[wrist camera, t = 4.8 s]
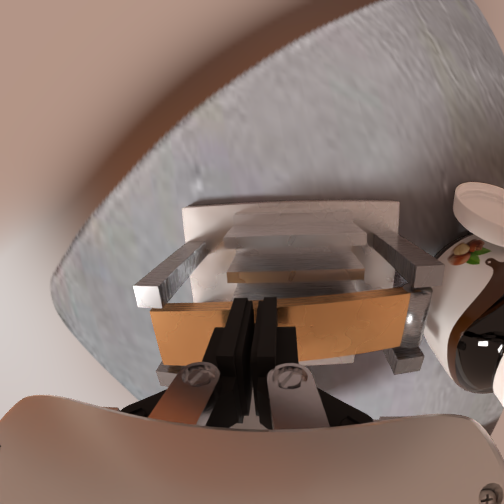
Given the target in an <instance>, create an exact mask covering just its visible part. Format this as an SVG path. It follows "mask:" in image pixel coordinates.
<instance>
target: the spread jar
mask: <svg viewBox="0 0 504 504" xmlns="http://www.w3.org/2000/svg"><path fill="white" fill-rule="evenodd" d="M453 212H454V215H455V217H456V218H457V220H458V221H459V222H460V223H461V224H462V225H463V226H464V227H465V228H466V229H467V230H469V231H470V232H471V233H473V234H470V235H467V236H464V237H461V238H459V239H457V240H455V241H453V242H451V243H450V244H448V245H447V246H446V247H444V248H443V249H442V250H441V251H440V252H439V253H438V254H437V255H436V256H435V258H436V259H437V260H439V261H440V262H442V263H443V264H445V270H444V276H443V282H442V286H432V287H431V288H432V289H433V292H432V298H431V303H430V307H429V312H428V316H427V321H426V325H425V329H424V333H423V334H424V336H425V338H426V340H427V342H428V344H429V346H430V348H431V349H432V351H433V352H434V354H435V356H436V357H437V359H438V360H439V362H440V363H441V365H442V366H443V368H444V369H445V371H446V372H447V373H448V375H449V376H450V377H451V379H452V380H453V381H454V382H455V383H456V384H457V385H458V386H460V387H461V388H463V389H464V390H466V391H469V392H472V393H482V394H486V393H493V392H494V393H495V395H496V396H497V398H498V399H499V401H500V402H501V404H502V405H503V407H504V189H503V188H500V187H498V186H495V185H491V184H487V183H481V182H467V183H463V184H460V185H459V186H457V188H456V190H455V196H454V203H453Z"/></svg>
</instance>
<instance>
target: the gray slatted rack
mask: <svg viewBox="0 0 504 504" xmlns="http://www.w3.org/2000/svg"><path fill="white" fill-rule="evenodd" d="M182 215H183V224H184V233H185V242H186V244H184V245H183V246H182V247H180V248H179V249H178V250H177V251H175V252H174V253H173V254H172V255H170V256H169V257H168V258H167V259H165V260H164V261H163V262H162V263H160V264H159V265H158V266H157V267H156V268H154V269H153V270H152V271H151V272H149V273H148V274H147V275H146V276H145V277H143V278H142V279H141V280H140V281H139V282H137V283H136V284H135V285H134V286H133V287H134V292H135V296H136V301H137V305H138V307H143V308H163V307H164V306H165V305H166V303H167V302H168V301H169V300H170V299H171V298H172V296H173V295H174V294H175V293H176V292H177V290H178V289H179V288H180V287H181V286H182V284H183V283H184V282H185V281H186V280H187V279H188V277H189V276H190V280H191V287H192V294H193V300H194V303H204V302H229V301H233V300H234V298H248V301H250V300H263V299H264V297H277V299H282V298H296V297H309V296H321V295H332V294H343V293H353V292H362V291H371V290H380V289H389V288H393V284H394V275H395V270H396V271H397V272H398V273H399V274H400V275H401V276H402V277H403V278H404V279H405V280H406V281H407V282H408V283H409V284H410V285H411V286H412V287H413V288H421V287H432V286H442V282H443V276H444V270H445V264H443V263H442V262H440V261H439V260H437V259H436V258H434V257H433V256H431V255H430V254H428V253H427V252H425V251H424V250H422V249H421V248H419V247H418V246H416V245H415V244H413V243H411V242H410V241H408V240H407V239H405V238H404V237H402V236H400V235H399V234H398V227H399V202H398V201H394V200H298V201H268V202H246V203H228V204H212V205H198V206H186V207H184V208H182ZM383 351H384V353H385V356H386V358H387V360H388V362H389V364H390V366H391V369H392V371H393V373H394V375H396V374H402V373H408V372H414V371H419V370H420V368H421V365H422V362H423V359H424V354H423V353H422V351H421V350H420V348H419V346H418V347H416V348H403V347H401V346H398V347H394V348H389V349H383ZM354 356H355V355H348V356H341V357H334V358H326V359H318V360H309V361H299V364H301V365H303V366H307V365H328V364H343V363H353V362H354ZM183 367H185V366H179V365H164V364H163V361H162V362H161V364H160V365H159V367H158V369H157V370H156V373H157V376H158V379H159V382H160V385H161V386H167V387H169V386H170V384H171V383H172V381H173V380H174V378H175V377H176V375H177V374H178V372H179V371H180V370H181V369H182V368H183Z"/></svg>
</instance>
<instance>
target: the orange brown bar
mask: <svg viewBox="0 0 504 504" xmlns="http://www.w3.org/2000/svg"><path fill="white" fill-rule="evenodd" d="M432 292H433V289H432V288H431V287H421V288H413V287H412V286H411V285H410V284H409V283H406V284H404V285H403V287H397V288H389V289H380V290H371V291H362V292H353V293H343V294H332V295H321V296H309V297H296V298H282V299H277V321H278V327H291V326H296V336H297V348H298V362H299V361H309V360H318V359H326V358H334V357H341V356H348V355H355V354H361V353H367V352H373V351H378V350H383V349H389V348H394V347H398V346H401V347H403V348H416V347H418V346H419V345H420V344H421V341H422V337H423V333H424V329H425V325H426V321H427V316H428V312H429V307H430V303H431V298H432ZM250 301H253V311H254V325H255V322H256V316H257V309H258V302H259V301H263V300H250ZM232 303H233V301H229V302H204V303H166V305H165V306H164V307H163V308H152V309H151V310H150V315H151V319H152V323H153V327H154V331H155V335H156V339H157V343H158V346H159V350H160V354H161V357H162V361H163V364H164V365H179V366H186V365H188V364H191V363H195V362H202V359H203V357H204V354H205V351H206V349H207V346H208V343H209V341H210V338H211V336H212V333H213V330H214V328H215V327H225V325H226V322H227V319H228V316H229V312H230V309H231V306H232Z"/></svg>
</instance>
